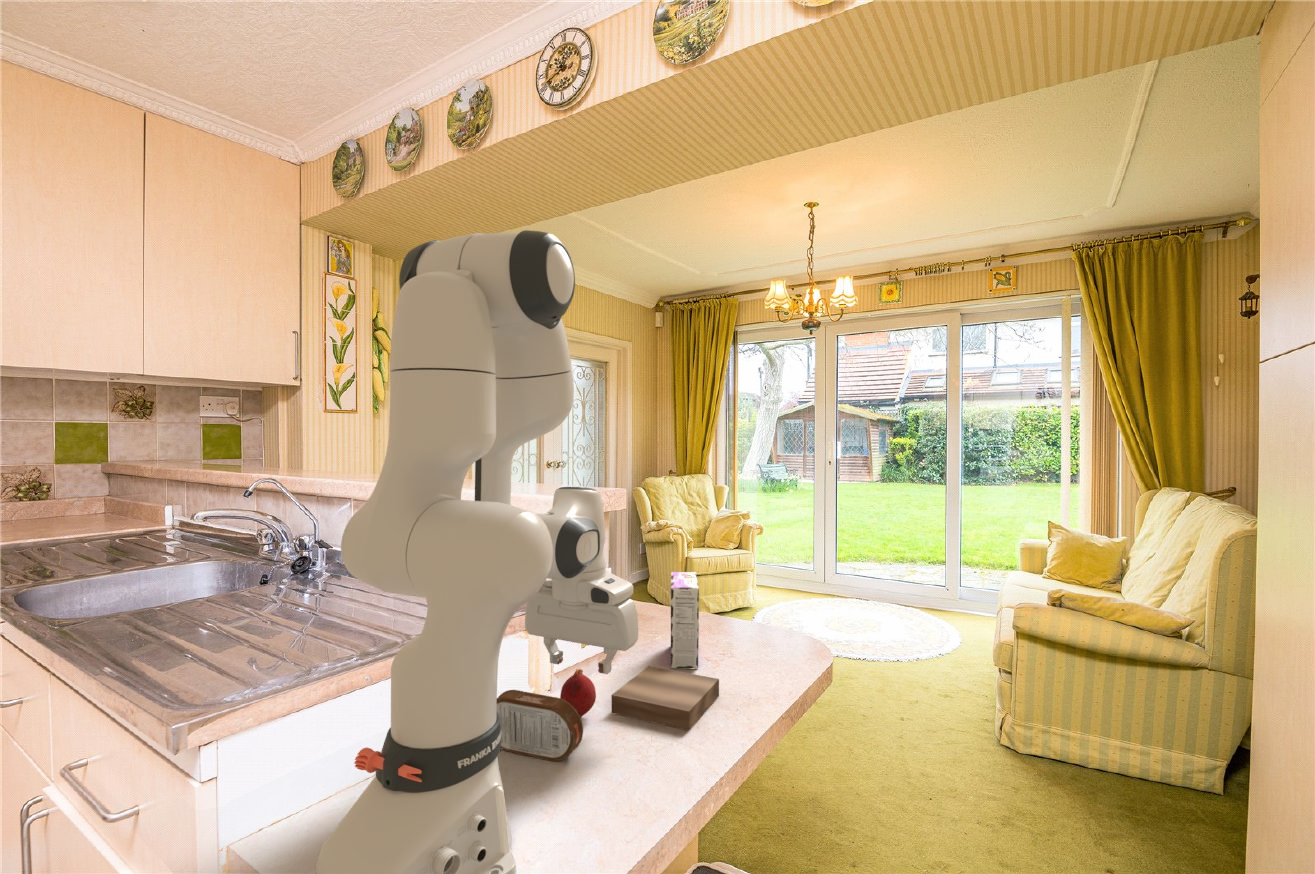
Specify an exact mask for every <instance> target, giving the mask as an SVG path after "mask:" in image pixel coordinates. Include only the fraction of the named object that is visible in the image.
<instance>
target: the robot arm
mask: <svg viewBox="0 0 1315 874" xmlns="http://www.w3.org/2000/svg"><path fill="white" fill-rule="evenodd" d="M575 275H576V274H575V269H574V263H573V261H572V257H571V254H570V253H569V250H568V249H567V248H566V245H564V243H562V241H561V240H560V239H559V238H558V237H557V236H556V235H555V234H552V233H549V232H545V231H540V230H521V231H520V232H494V233H482V232H481V233H480V232H476V233H469V234H463V235H459V236H453V237H451V238H447V239H443V240H438V239H437V240H430V241H427V242H424V243H422V244H420V245H417V246H415V247H413V248H411V250H409V251H408V252H407V254H405V256H404V259H403V261H402V264H401V266H400V270H399V275H398V281H399V284H398V285H399V290H400V291H399V293H398V296H397V300H396V306H395V309H394V316H393V320H392V328H391V329H392V330H391V338H390V351H389V352H390V353H389V413H388V414H389V417H388V418H389V419H388V420H389V423H388V441H387V448H386V452H385V456H384V461H383V465H382V468H381V470H380V474H379V477H378V480H377V482H376V483H375V486H374V489H373V491H372V493H371V495H370V497H369V498H368V499H367V501H366V502H365V503H364V504H363V505H362V506H361V507H360V508H359V509H358V510H356V512H355V513H354V514H353V515H351V517H350V519H349V520H348V522H347V524H346V526H345V529H344V530H343V533H342V536H341V542H340V543H341V544H340V552H341V559H342V561H343V564H344V566H345V568H346V570H347V571H348V573H349V574H350V575H351V576H352V577H354V578H355V579H358V580H359V581H361V582H364V583H365V584H366V585H369V586H371V587H374V588H375V589H378V590H380V591H383V592H385V593H389V594H395V595H403V596H411V597H417V598H423V599H425V600H426V604H427V605H426V606H427V610H426V616H425V621H424V624H423V628H422V631H421V633H420V634H418V635H416V636H415V637H413V638H412V639H410V640H408V641H407V643H405V644H404V645H403V646H402V647H401V648H400V649H399V651H397V653H396V654H395V656H394V658H393V661H392V662H391V666H390V667H391V668H390V727H389V729H388V731H387V733H386V735H385V739H384V742H383V746H382V749H381V751H379V750H374V749H372V748H370V747H364V748H362V749H360V750H359V751H358V752H357V755H356V757H354V760H355V761H354V762H353V763H354V767H355V768H356V769H357V770H360V771H366V772H367V773H369V774H373V773H375V776H374V778H372V780H371V781H370V782H369V784H368V785H367V787H366V788H365V789H364V790H363V792H362V793H361V794H360V796H359V797H358V799H357V800H355V802H354V804H353V805H352V807H351V808H350V809H349V810H348V811H347V813H346V814H345V816H344V817H343V818H342V819H341V821H340V822H339V823H338V825H337V826H336V828H335V829H334V830H333V831H332V832H331V834H330V835H329V836H328V838H327V839H326V840H325V842H323V844H322V846H321V847H320V851H319V854H318V856H317V859H316V864H315V869H314V874H517V867H516V860H515V857H514V854H513V852H512V850H511V849H512V832H511V830H510V826H509V825H508V824H509V823H508V819H507V809H506V800H505V798H506V797H505V791H504V786H503V781H502V776H501V771H500V765H499V759H498V757H499V754H500V753H501V752H500V751H501V750H502V748H501V736H502V730H501V726H500V715H499V713H498V712H497V698H498V673H499V671H498V669H499V658H500V657H499V656H500V650H501V646H502V643H503V638H504V635H505V633H506V630H507V628H508V626H509V623H510V622H511V620H512V618H514V615H516V612H517V611H518V610H519V609H520V608H521V607H522V606H524V605H525V604H526V606H525V607H526V608H525V615H524V617H525V618H524V628H525V630H526V632H527V634H529V635H531V636H536V637H542V638H543V644H544V646H545V648H546V650H547V652H548V654H549V663H550V664H554V665H560V664H562V663H563V661H564V657H563V656H564V651H563V650H560V649H559V647H558V644H557V641H559V640H560V641H563V642H564V641H566V642H569V643H575V644H583V645H588V646H593V647H599V648H603V654H605V655H606V656H605V658H603V659H602V660H600V661H599V662H598V663H597V665H598V666H597V667H598V669H597V670H598V673H599V674H605V675H608V674H609V673H611V671H612V667H613V666H612V665H613V664H612V661H613V660H614V658H615V656H616V654H617V653H618V651H621V652H627V651H629V650H630V649H631V648H632V647H633V646H635V644H636V643H638V640H639V622H638V619H639V618H638V611H637V608H636V606H637V605H636V603H634V601H633V600H632V598H630V597H632V595H633V594H634V585H633V584H632V583H631V582H630V581H628V580H626V579H624V578H621V577H620V576H618V575H615V574H614V573H612V572H610V571H608V570H606V569H607V568H606V567H607V566H606V564H607V563H606V560H605V556H604V547H605V541H606V524H605V521H606V519H605V510H604V505H603V500H602V495H601V493H600V492H599V491H598V490H597V489H595V488H593V487H592V488H591V487H580V486H562V487H559V488H557V489H555V490H554V493H553V498H552V499H553V500H552V507H551V509H549V511H547V513H534V512H531V511H528V510H526V509H523V508H520V507H517V506H514V505H512V504H511V497H512V495H511V493H512V492H511V490H512V467H513V466H512V465H513V464H512V463H513V458H514V455H515V453H516V451H517V450H518V449H519V448H520V447H521V446H523V445H524V444H527V443H529V442H531V441H534V440H536V439H538V438H540V437H543V436H544V435H546V434H548V433H550V432H552V431H553V430H555V429H557V428H558V427H559V426H560V425H561V424H562V423H564V422H565V420H566V419H567V417H568V416H569V415H570V413H571V410H572V408H573V406H574V398H575V396H574V395H575V390H574V389H575V388H574V386H575V385H574V376H573V368H572V359H571V353H570V347H569V342H568V337H567V333H566V329H565V325H564V322H563V319H562V318H563V316H564V315H565V314H566V312H567V311H568V310H569V308H570V306H571V303H572V301H573V298H574V295H575V289H576V276H575ZM473 464H475V465H474V469H475V470H474V500H466V499H462V491H463V486H464V483H465V482H464V481H465V479H466V476H467V474H468V471H469V470H470V469H471V467H472V466H473ZM547 579H549V580H547Z"/></svg>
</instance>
